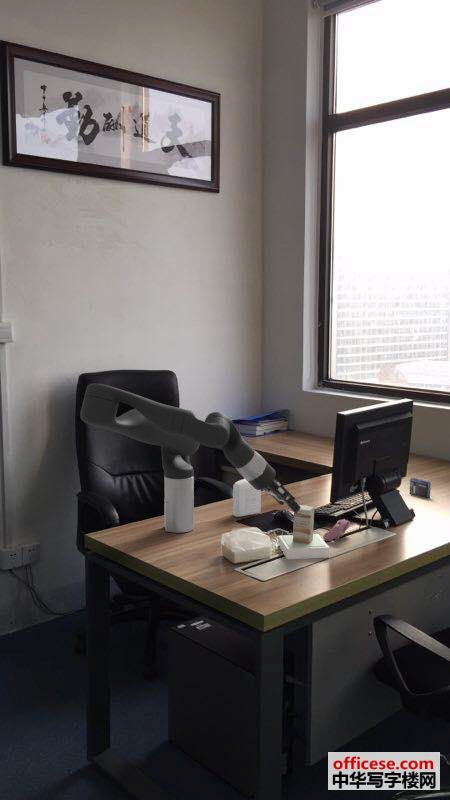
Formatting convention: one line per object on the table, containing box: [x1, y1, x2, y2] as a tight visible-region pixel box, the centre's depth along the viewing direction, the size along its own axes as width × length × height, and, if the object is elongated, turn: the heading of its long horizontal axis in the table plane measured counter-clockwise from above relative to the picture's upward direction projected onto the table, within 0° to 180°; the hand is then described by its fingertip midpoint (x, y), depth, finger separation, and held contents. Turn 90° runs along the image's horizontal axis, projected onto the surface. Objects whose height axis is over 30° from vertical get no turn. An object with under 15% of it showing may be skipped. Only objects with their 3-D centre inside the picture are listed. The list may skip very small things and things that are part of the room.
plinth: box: [278, 533, 330, 560], centre depth 210 cm, size 12×12×3 cm
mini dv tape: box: [409, 477, 432, 499], centre depth 270 cm, size 8×2×6 cm, turn 37°
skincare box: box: [292, 504, 315, 544], centre depth 209 cm, size 5×4×10 cm
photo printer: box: [232, 478, 262, 518], centre depth 246 cm, size 10×4×12 cm, turn 123°
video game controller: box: [322, 518, 351, 542], centre depth 222 cm, size 10×5×7 cm, turn 150°
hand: (290, 506), depth 205 cm, fingers open, 8 cm apart
